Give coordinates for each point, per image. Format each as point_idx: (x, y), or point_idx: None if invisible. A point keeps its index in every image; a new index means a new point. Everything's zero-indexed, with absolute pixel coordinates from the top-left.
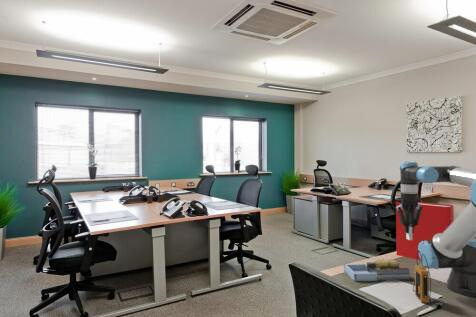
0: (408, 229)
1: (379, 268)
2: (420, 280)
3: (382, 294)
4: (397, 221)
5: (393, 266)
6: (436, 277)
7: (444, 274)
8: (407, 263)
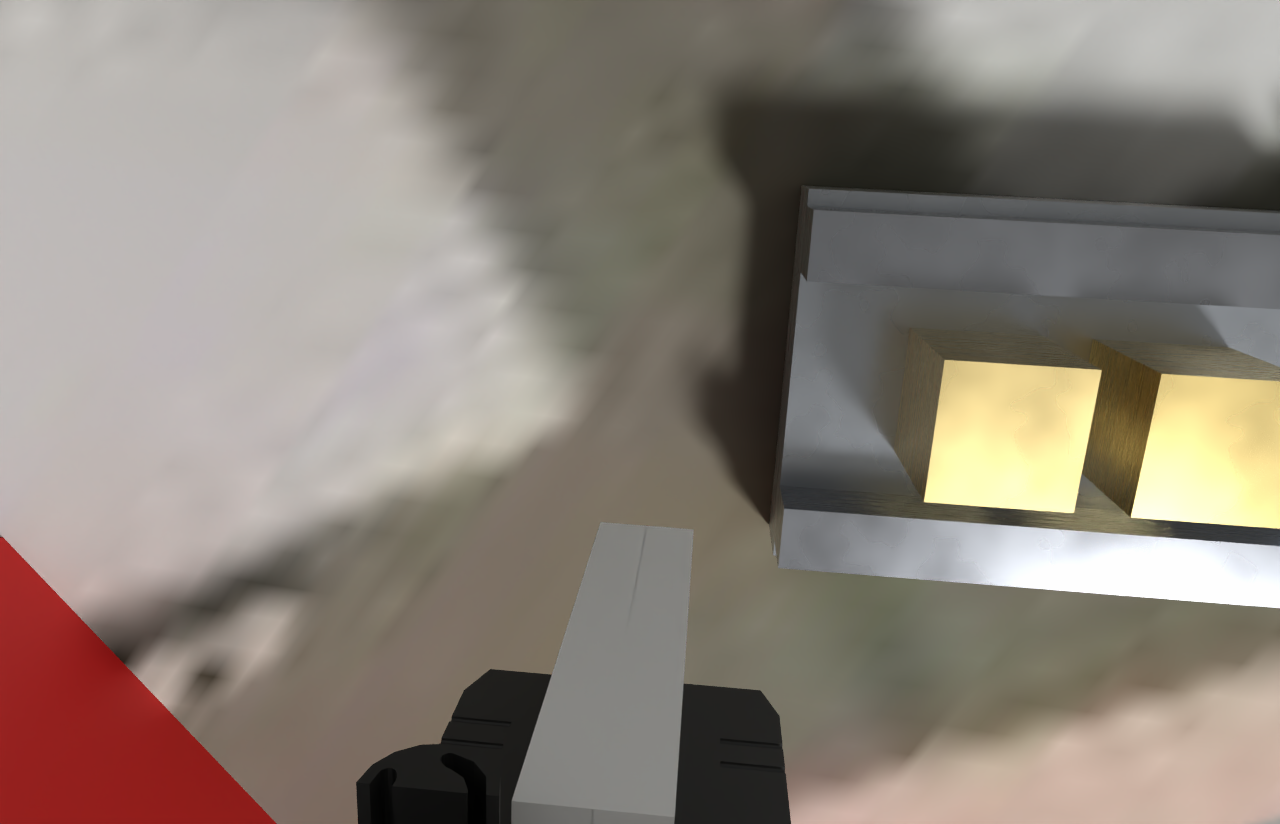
0: (685, 784)
1: (1257, 361)
2: None
3: None
4: None
5: (1015, 348)
6: (386, 198)
7: (211, 283)
8: None
